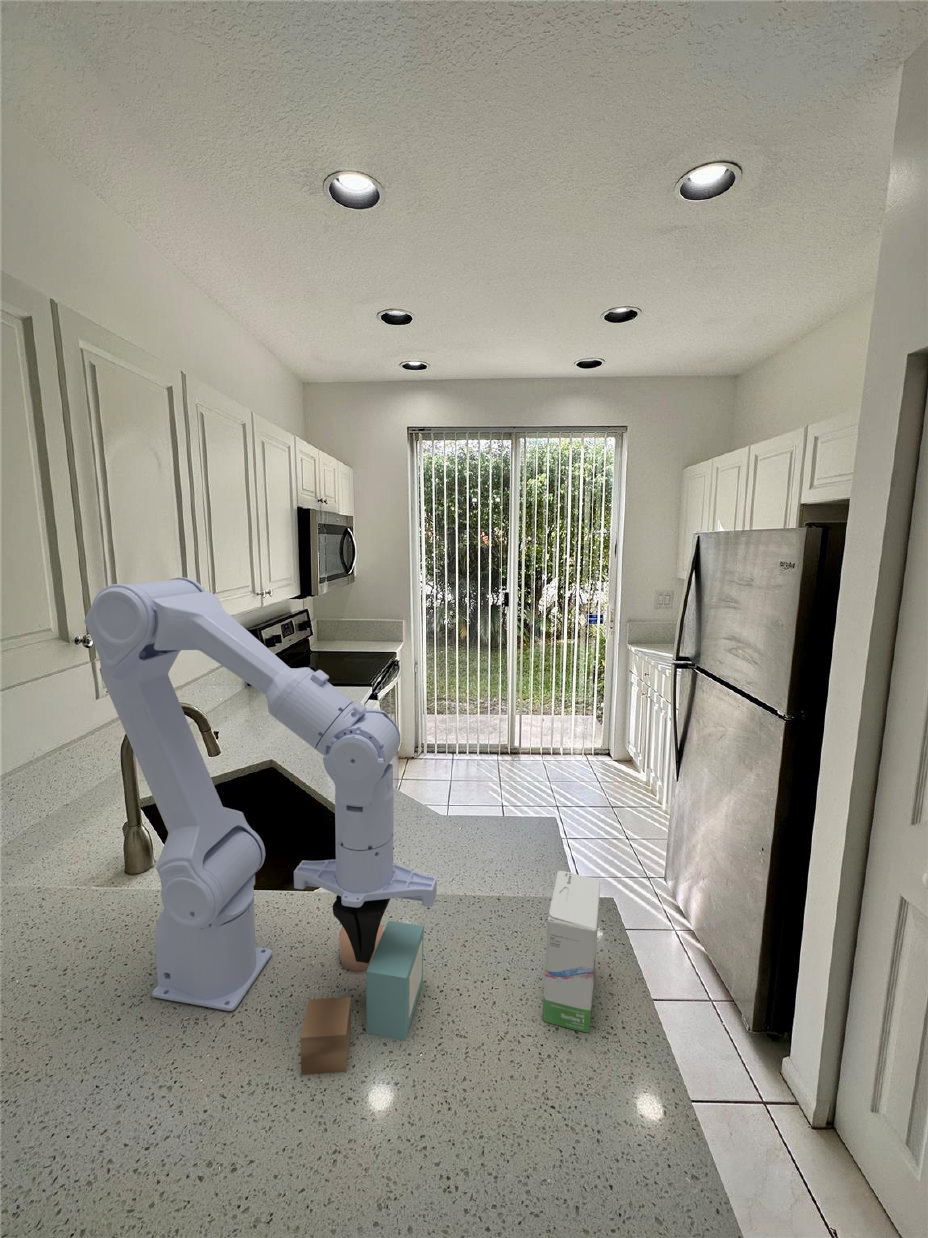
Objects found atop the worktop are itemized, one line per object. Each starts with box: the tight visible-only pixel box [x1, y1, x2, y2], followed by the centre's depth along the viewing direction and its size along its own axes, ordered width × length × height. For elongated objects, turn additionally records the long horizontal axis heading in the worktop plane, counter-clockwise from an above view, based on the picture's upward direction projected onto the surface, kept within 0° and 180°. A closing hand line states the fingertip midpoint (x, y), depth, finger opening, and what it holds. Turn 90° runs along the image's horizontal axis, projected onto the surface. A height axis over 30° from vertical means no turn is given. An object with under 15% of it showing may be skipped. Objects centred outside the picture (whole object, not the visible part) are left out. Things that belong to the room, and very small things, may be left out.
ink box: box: [542, 870, 601, 1033], centre depth 56 cm, size 8×5×12 cm, turn 163°
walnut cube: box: [300, 996, 352, 1076], centre depth 50 cm, size 4×4×4 cm
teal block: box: [365, 920, 425, 1042], centre depth 55 cm, size 4×7×7 cm, turn 171°
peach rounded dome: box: [338, 922, 384, 972], centre depth 62 cm, size 5×5×3 cm
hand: (365, 955), depth 55 cm, fingers closed
